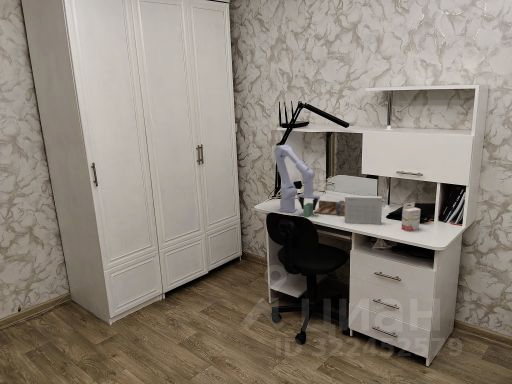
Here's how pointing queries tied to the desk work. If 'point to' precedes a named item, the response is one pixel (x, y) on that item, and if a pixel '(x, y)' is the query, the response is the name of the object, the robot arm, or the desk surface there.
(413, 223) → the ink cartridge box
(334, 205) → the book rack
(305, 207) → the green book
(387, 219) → the desk surface
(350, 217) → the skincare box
